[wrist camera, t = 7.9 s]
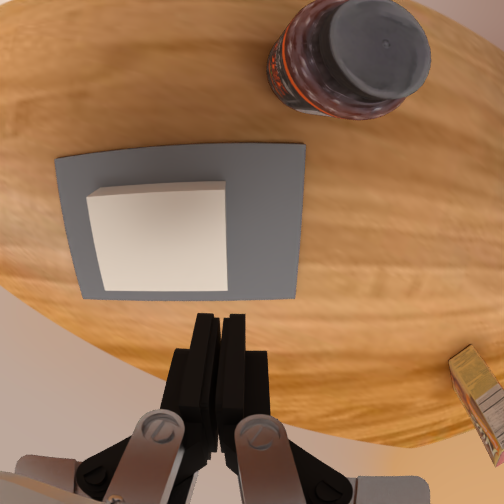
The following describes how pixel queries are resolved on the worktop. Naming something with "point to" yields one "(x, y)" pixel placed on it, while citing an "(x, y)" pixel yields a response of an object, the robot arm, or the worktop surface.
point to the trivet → (237, 211)
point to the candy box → (480, 399)
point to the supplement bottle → (349, 59)
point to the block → (161, 236)
